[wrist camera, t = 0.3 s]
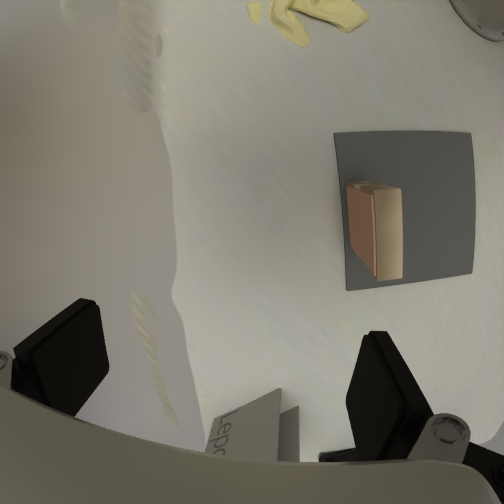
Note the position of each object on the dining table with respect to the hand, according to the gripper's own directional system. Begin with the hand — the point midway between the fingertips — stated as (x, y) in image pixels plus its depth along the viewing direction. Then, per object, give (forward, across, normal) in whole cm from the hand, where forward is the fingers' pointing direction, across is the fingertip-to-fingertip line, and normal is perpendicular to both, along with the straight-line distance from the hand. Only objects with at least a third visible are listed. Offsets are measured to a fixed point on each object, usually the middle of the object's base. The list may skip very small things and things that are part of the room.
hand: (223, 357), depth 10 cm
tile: (+28, -12, -2) cm, 31 cm away
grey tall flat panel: (+30, -1, +33) cm, 45 cm away
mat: (+29, -19, -4) cm, 35 cm away
